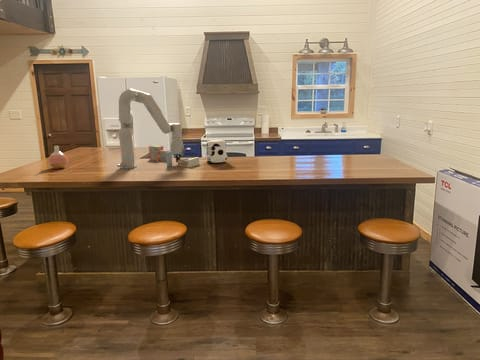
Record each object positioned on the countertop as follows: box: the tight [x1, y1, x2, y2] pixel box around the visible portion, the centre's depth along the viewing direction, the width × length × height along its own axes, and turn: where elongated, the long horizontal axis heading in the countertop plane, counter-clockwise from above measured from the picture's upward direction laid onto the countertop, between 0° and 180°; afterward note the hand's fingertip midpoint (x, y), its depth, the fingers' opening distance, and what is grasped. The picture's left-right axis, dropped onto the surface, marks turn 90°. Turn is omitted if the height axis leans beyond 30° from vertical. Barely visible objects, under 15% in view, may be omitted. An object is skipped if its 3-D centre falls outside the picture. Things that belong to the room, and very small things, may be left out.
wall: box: [187, 156, 200, 168], centre depth 275 cm, size 13×2×6 cm, turn 153°
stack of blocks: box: [148, 145, 171, 162], centre depth 306 cm, size 21×6×12 cm, turn 52°
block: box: [177, 157, 192, 168], centre depth 278 cm, size 10×10×5 cm
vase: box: [47, 145, 69, 170], centre depth 274 cm, size 14×14×18 cm
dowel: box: [166, 152, 173, 168], centre depth 272 cm, size 4×4×12 cm
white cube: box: [205, 139, 228, 164], centre depth 288 cm, size 17×17×18 cm
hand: (178, 162), depth 281 cm, fingers closed
